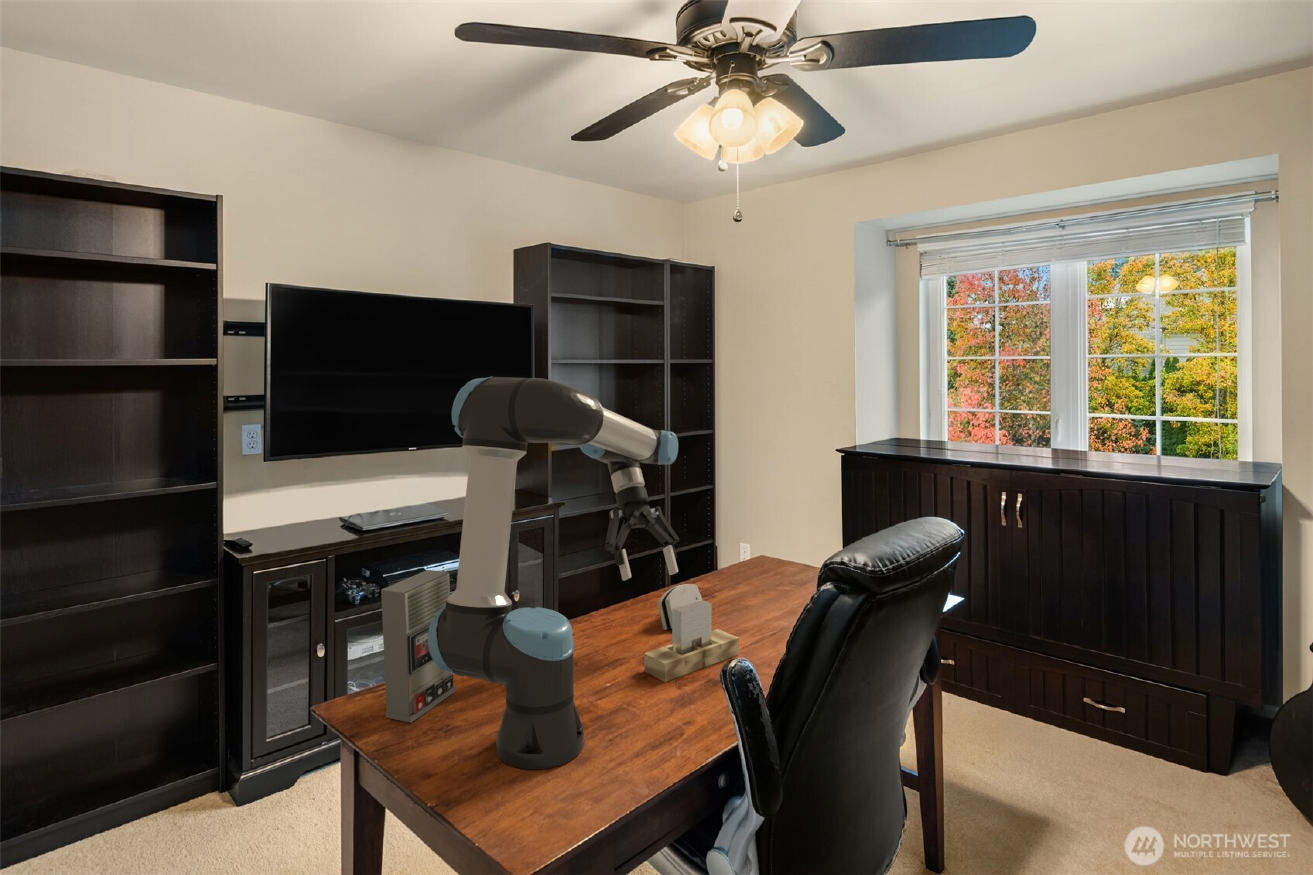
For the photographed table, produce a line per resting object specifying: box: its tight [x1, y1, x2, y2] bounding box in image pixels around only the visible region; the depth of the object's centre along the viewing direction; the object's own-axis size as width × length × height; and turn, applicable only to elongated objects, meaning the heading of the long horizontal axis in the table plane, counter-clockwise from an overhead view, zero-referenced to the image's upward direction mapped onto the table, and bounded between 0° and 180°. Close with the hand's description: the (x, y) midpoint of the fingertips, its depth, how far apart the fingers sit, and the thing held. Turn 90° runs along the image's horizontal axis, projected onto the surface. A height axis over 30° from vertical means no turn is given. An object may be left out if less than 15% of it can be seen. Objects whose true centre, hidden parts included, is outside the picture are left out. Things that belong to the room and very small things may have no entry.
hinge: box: [657, 583, 703, 631], centre depth 188 cm, size 17×5×10 cm, turn 149°
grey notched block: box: [671, 599, 713, 655], centre depth 161 cm, size 9×3×13 cm, turn 129°
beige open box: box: [643, 628, 740, 683], centre depth 162 cm, size 22×7×4 cm, turn 129°
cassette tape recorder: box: [380, 569, 457, 724], centre depth 141 cm, size 14×6×25 cm, turn 160°
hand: (651, 576), depth 168 cm, fingers open, 13 cm apart
